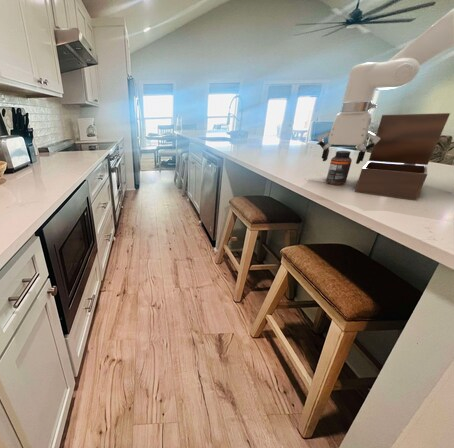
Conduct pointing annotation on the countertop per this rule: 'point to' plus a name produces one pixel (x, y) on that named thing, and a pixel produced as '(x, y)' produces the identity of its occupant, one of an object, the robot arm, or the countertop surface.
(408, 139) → the lid
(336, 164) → the supplement bottle
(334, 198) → the countertop surface
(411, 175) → the chest
